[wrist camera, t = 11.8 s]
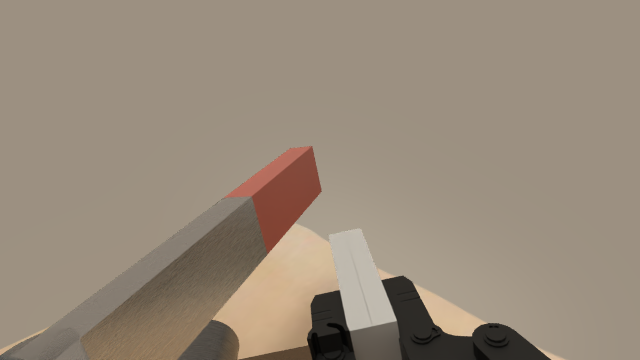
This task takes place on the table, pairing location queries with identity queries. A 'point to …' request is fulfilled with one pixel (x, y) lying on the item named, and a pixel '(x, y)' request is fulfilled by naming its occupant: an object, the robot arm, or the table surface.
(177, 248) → the lever
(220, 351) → the valve stand
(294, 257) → the table surface
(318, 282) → the table surface
